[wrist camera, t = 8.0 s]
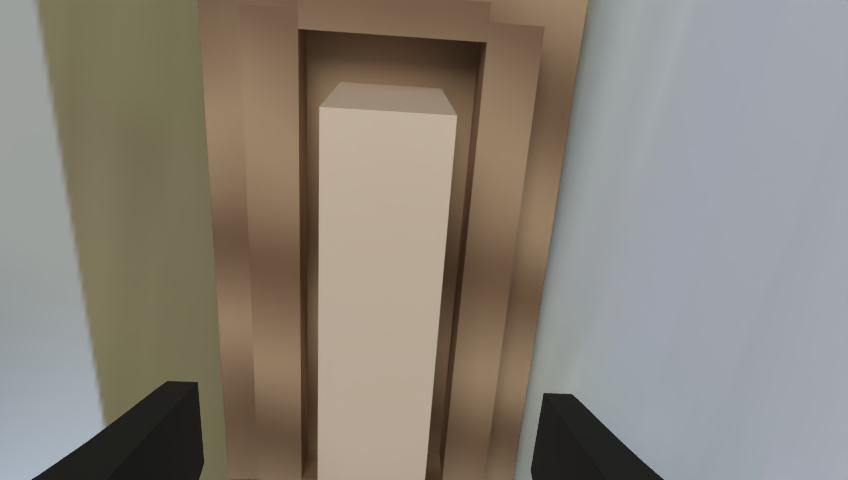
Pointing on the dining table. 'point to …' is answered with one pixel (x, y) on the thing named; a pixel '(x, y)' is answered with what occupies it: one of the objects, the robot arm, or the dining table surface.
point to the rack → (299, 206)
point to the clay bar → (380, 275)
